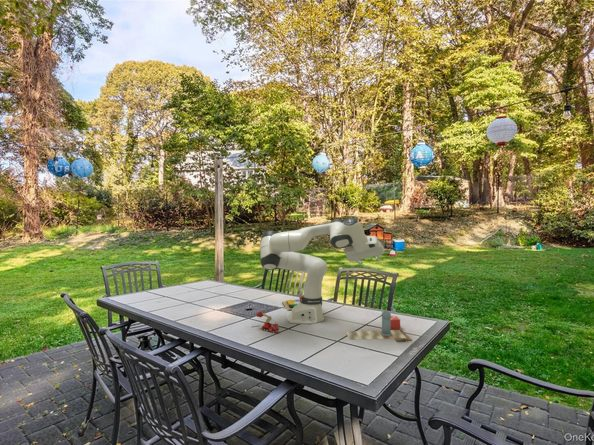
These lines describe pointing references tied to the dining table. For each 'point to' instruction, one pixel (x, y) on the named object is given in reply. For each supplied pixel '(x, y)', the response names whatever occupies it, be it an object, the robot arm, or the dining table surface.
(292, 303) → the wooden puzzle
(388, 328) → the pawn
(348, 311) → the dining table surface
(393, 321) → the red die
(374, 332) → the game track
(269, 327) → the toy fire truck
